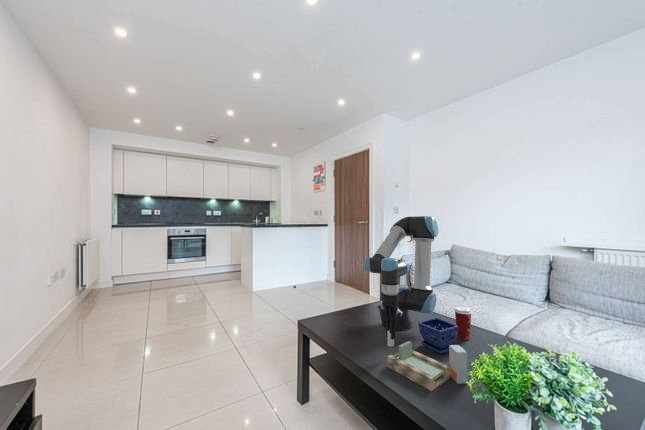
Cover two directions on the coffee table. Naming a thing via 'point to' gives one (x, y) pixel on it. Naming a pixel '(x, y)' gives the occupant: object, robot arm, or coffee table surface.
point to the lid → (417, 360)
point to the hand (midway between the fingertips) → (390, 345)
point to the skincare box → (458, 363)
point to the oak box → (417, 374)
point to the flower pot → (438, 334)
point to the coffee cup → (463, 322)
